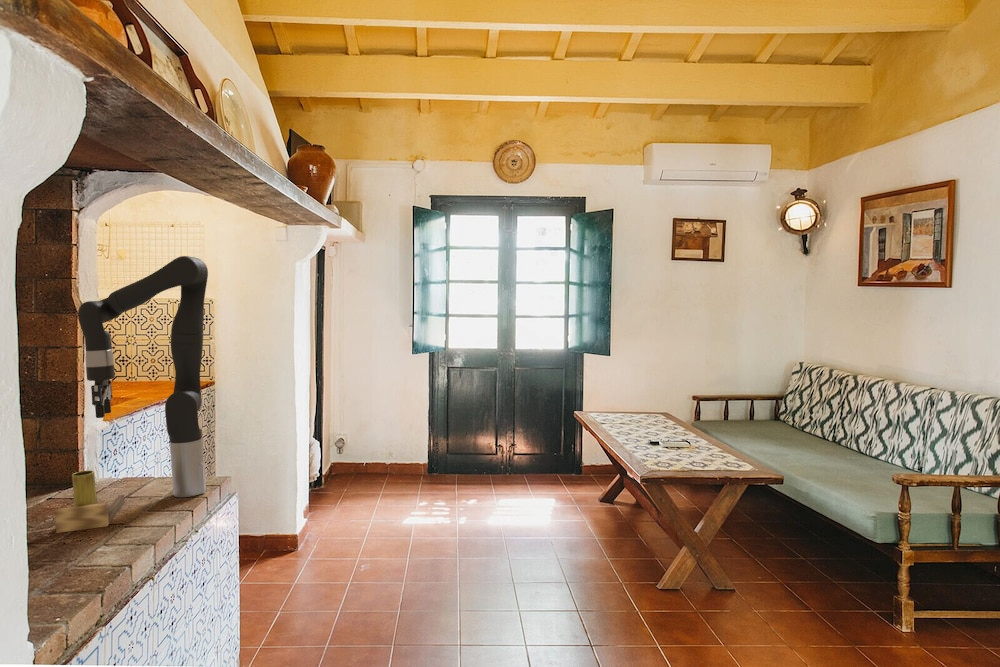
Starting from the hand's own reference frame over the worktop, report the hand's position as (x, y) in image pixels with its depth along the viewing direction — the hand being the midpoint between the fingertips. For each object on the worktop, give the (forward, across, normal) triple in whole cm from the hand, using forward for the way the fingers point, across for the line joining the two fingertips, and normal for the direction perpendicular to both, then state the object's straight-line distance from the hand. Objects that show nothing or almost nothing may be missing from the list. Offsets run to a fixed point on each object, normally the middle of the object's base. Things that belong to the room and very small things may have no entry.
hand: (103, 415), depth 204 cm
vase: (+26, -26, 0) cm, 37 cm away
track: (+26, -20, 0) cm, 33 cm away
